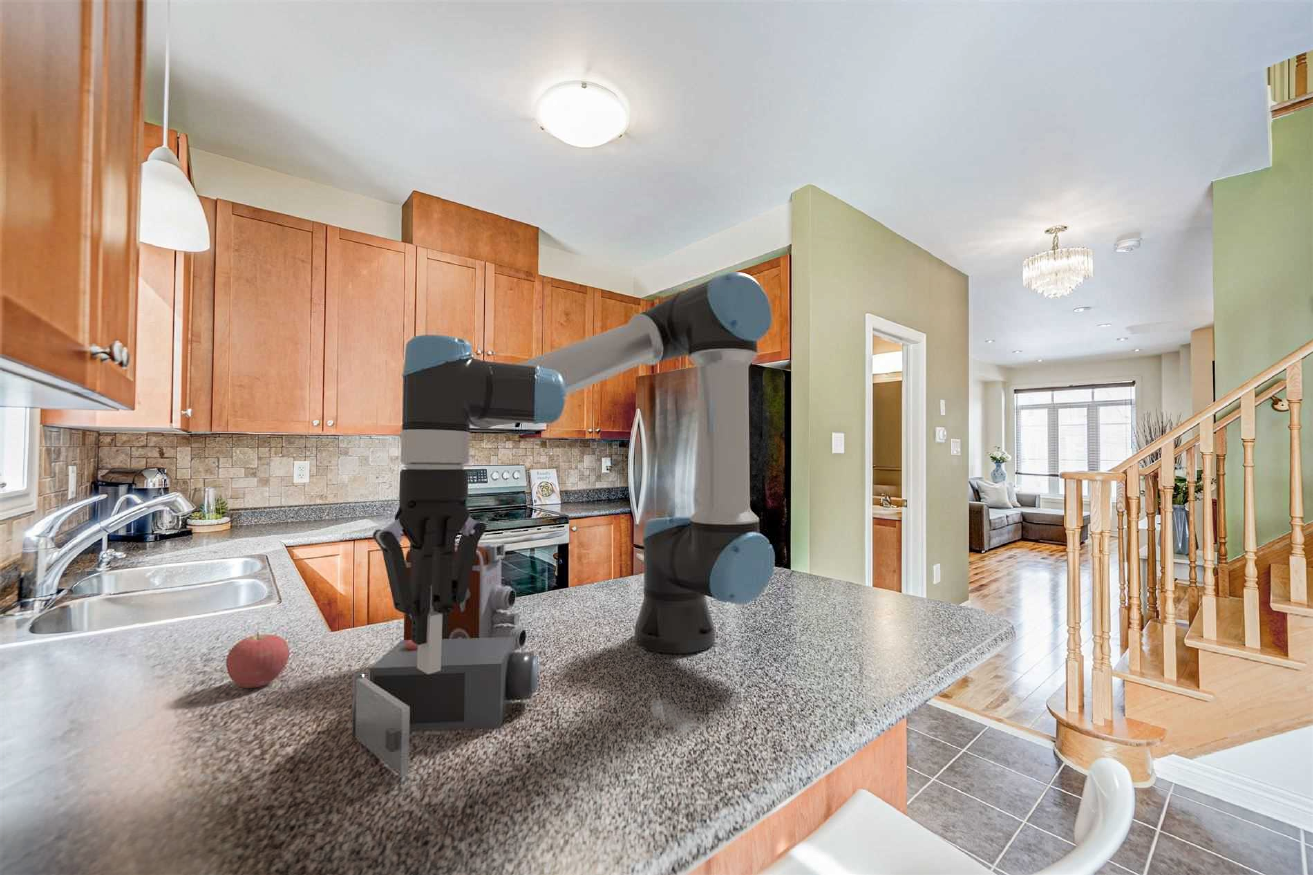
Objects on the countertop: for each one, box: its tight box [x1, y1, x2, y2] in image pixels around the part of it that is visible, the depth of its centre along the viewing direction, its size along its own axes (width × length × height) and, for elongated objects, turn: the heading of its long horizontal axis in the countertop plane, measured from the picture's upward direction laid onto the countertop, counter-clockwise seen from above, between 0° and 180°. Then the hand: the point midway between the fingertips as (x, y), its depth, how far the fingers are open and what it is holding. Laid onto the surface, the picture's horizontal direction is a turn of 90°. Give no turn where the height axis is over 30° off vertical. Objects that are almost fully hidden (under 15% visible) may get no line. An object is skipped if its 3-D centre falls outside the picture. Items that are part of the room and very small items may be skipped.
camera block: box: [369, 637, 539, 733], centre depth 71 cm, size 20×10×9 cm, turn 95°
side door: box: [352, 671, 410, 778], centre depth 60 cm, size 13×2×7 cm, turn 50°
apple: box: [225, 630, 290, 689], centre depth 79 cm, size 7×7×8 cm
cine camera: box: [403, 539, 527, 650], centre depth 88 cm, size 9×19×20 cm, turn 78°
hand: (428, 669), depth 62 cm, fingers closed
